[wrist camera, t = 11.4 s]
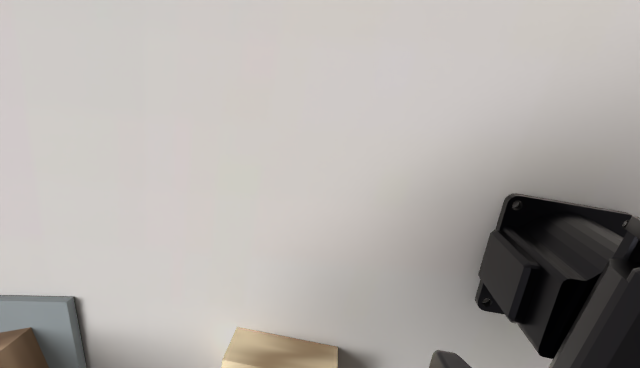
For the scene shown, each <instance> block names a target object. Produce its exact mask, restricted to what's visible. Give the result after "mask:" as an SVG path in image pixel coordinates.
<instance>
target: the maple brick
mask: <svg viewBox="0 0 640 368" xmlns="http://www.w3.org/2000/svg"><path fill="white" fill-rule="evenodd" d="M337 362H338V347H335V346H330V345H325V344H320V343H315V342H310V341H305V340H300V339H295V338H290V337H285V336H280V335H275V334H270V333H265V332H260V331H255V330H250V329H245V328H240V327H237V328H236V330H235V333H234V335H233V337H232V340H231V342H230V344H229V346H228V349H227V351H226V353H225V355H224V358H223V360H222V367H221V368H337Z"/></svg>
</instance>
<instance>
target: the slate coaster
mask: <svg viewBox="0 0 640 368" xmlns="http://www.w3.org/2000/svg"><path fill="white" fill-rule="evenodd" d="M29 327H31V328H32V331H33V333H34V335H35V337H36V339H37V342H38V344H39V346H40V348H41V351H42V353H43V355H44V357H45V360H46V362H47V364H48V366H49V368H87V367H86V362H85V356H84V351H83V346H82V340H81V335H80V330H79V324H78V319H77V314H76V308H75V303H74V298H73V297H60V296H13V295H0V333H1V332H6V331H12V330H18V329H24V328H29Z"/></svg>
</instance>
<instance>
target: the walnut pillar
mask: <svg viewBox="0 0 640 368" xmlns="http://www.w3.org/2000/svg"><path fill="white" fill-rule="evenodd" d="M0 368H49V366H48V364H47V362H46V360H45V357H44V355H43V353H42V351H41V348H40V346H39V344H38V342H37V339H36V337H35V335H34V333H33V331H32V328H31V327H29V328H24V329H18V330H12V331H6V332H1V333H0Z"/></svg>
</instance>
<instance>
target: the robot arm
mask: <svg viewBox="0 0 640 368" xmlns="http://www.w3.org/2000/svg"><path fill="white" fill-rule="evenodd" d="M515 201H519V205H518V206H517V207H515V208H512V204H513V202H515ZM626 220H628V222H627V224H626V225H625V226H623V227H622V224H623V222H624V221H626ZM478 276H479V277H480V279H481V280H480V284H479V287H478V290H477V294H476V297H475V301H476V303H477V305H478V307H479V308H480V309H481V310H484V311H489V312H494V313H500V314H505V315H506V316H507V318H508V319H509V321H510V322H512V323H517V324H518V325H519V327H520V328H521V330H522V331H523V332H524V334H525V335H526V337H527V338H528V339H529V341H530V342H531V344H532V345H533V346H534V348H535V349H536V351H537V352H538V353H539V355H540V356H543V357H547V358H552V359H553V361H552V363H551V364H550V366H549V368H640V218H639V217H636V216H633V215H630V214H628V213H625V212H619V211H614V210H608V209H602V208H596V207H590V206H585V205H579V204H573V203H567V202H561V201H556V200H550V199H544V198H538V197H533V196H527V195H521V194H511V195H509V196H508V197H506V199H505V200H504V203H503V206H502V210H501V213H500V217H499V220H498V223H497V227H496V230H494V231H493V232H492V233H490V236H489V240H488V243H487V247H486V250H485V253H484V257H483V260H482V263H481V267H480V270H479V274H478ZM486 298H489V301H488V302H486V303H483V300H484V299H486ZM429 368H472V367H470V366H469V365H468V364H467V363H466V362H465V361H464V360H463V359H462V358H461V357H460V356H458V355H457V354H455V353H452V352H446V351H440V350H437V351H435V352H434V354H433V356H432V359H431V362H430V366H429Z"/></svg>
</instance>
